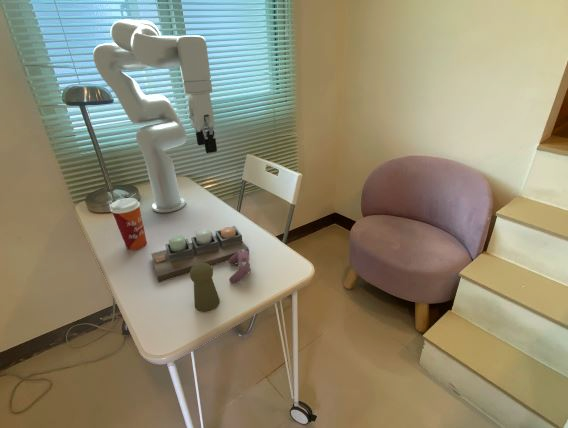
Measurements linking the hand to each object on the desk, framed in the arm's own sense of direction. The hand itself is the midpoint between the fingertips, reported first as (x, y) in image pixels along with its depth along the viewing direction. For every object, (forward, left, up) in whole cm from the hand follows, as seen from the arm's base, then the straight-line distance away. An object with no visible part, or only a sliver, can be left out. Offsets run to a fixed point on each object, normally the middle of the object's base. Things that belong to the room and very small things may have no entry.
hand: (207, 148), depth 95 cm
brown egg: (+11, 0, -26) cm, 28 cm away
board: (+13, -9, -28) cm, 33 cm away
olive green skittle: (+33, -13, -28) cm, 46 cm away
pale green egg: (+11, -15, -24) cm, 31 cm away
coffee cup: (-4, -26, -28) cm, 39 cm away
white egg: (+12, -8, -24) cm, 28 cm away
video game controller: (+26, -2, -29) cm, 38 cm away
